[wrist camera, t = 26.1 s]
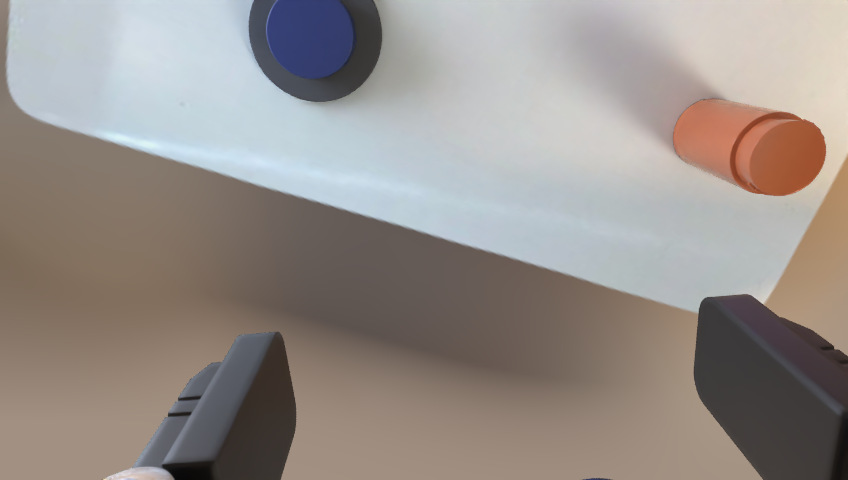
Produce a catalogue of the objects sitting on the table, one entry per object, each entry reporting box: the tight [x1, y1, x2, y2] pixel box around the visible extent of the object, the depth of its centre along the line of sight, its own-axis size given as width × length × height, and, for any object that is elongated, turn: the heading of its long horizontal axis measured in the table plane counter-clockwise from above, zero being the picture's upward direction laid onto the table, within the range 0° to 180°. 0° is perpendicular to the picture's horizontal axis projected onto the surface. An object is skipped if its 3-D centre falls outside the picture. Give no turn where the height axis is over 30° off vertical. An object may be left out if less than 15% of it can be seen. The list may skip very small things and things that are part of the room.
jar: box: [673, 98, 826, 196], centre depth 37 cm, size 5×5×10 cm
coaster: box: [249, 0, 382, 102], centre depth 39 cm, size 9×9×1 cm
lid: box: [266, 0, 357, 79], centre depth 38 cm, size 6×6×2 cm
